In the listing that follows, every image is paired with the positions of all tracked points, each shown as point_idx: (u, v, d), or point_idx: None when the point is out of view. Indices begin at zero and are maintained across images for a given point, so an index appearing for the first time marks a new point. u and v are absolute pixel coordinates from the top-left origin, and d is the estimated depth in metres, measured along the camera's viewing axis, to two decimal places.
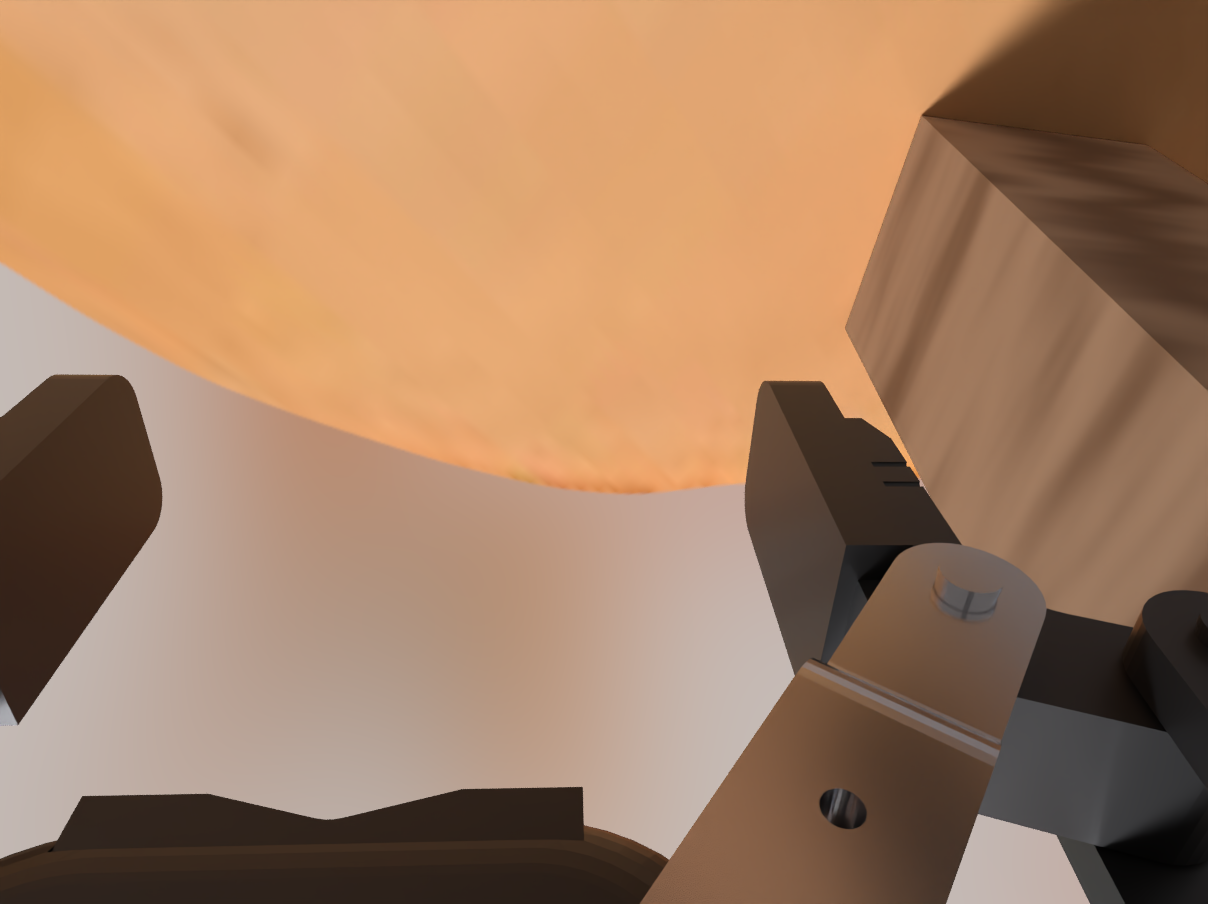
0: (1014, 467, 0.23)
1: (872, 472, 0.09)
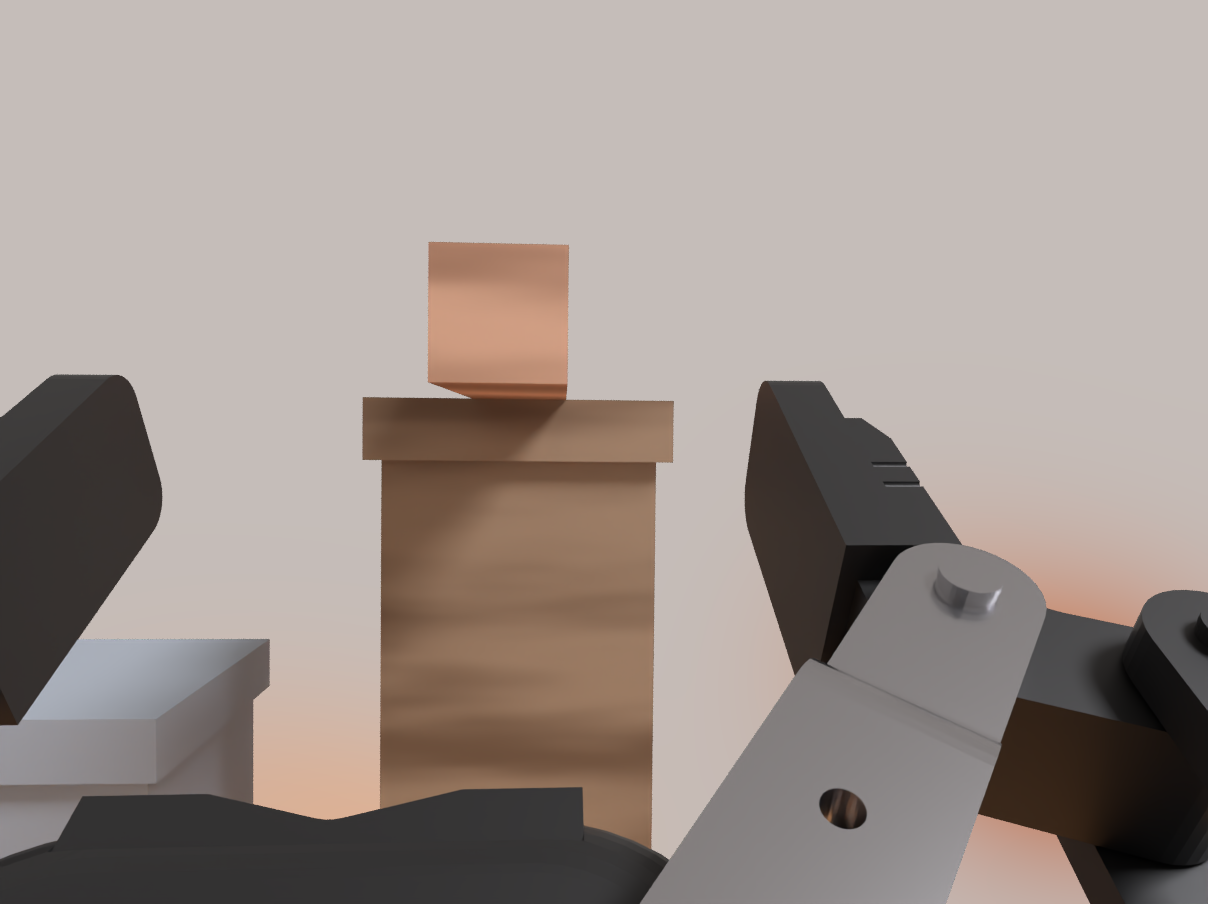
0: None
1: (872, 472, 0.09)
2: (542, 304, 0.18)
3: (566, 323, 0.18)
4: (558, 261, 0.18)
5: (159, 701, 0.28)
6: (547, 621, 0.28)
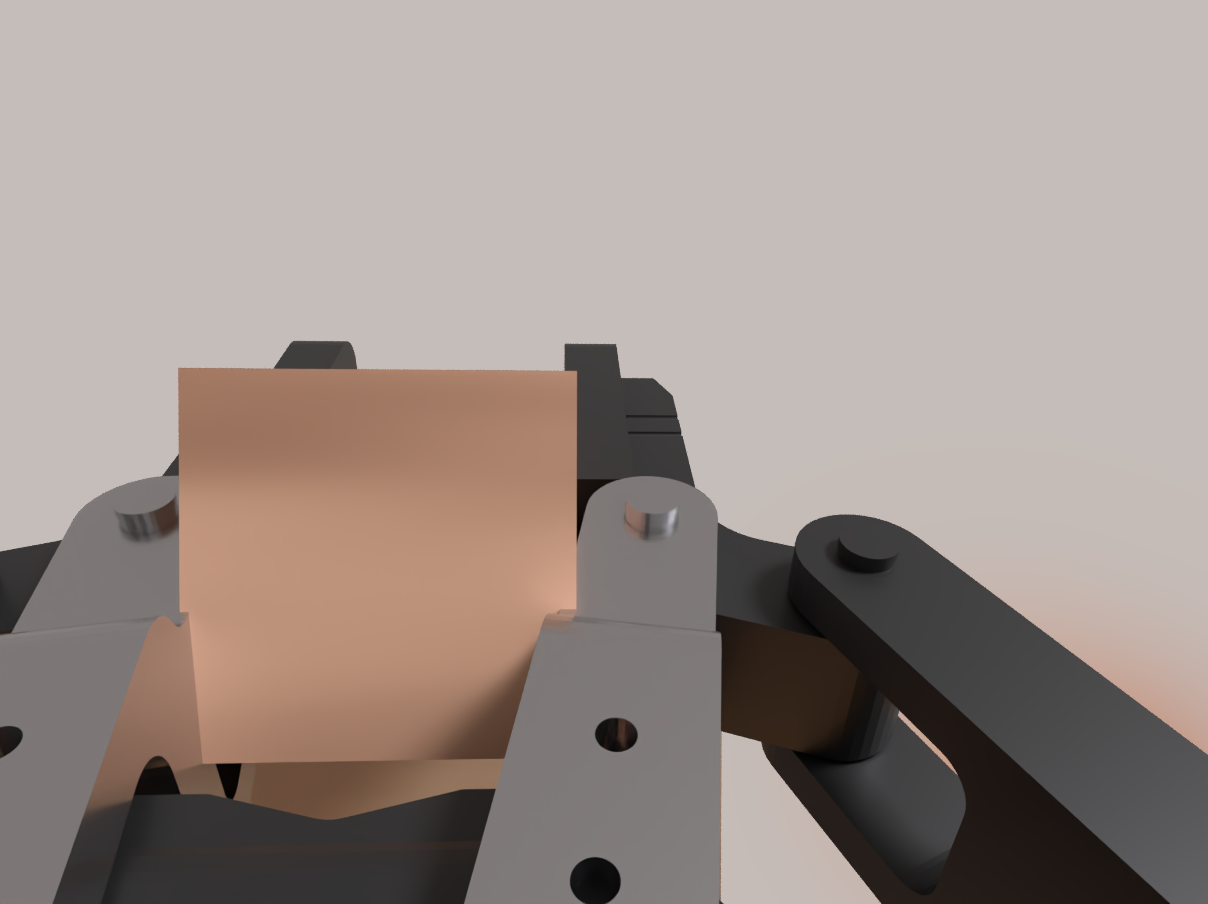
0: None
1: (623, 420, 0.09)
2: (506, 538, 0.06)
3: (572, 591, 0.06)
4: (549, 417, 0.07)
5: None
6: None
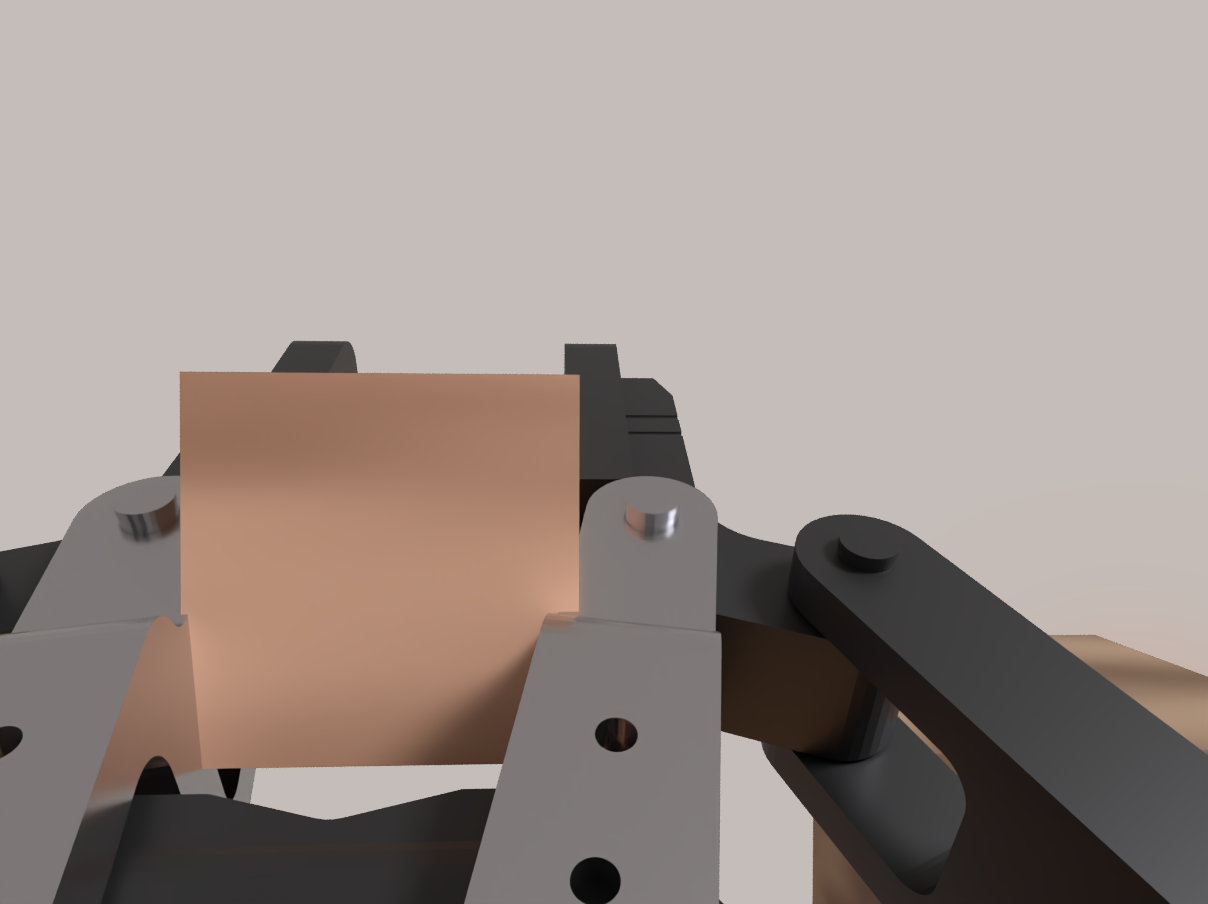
0: None
1: (623, 420, 0.09)
2: (509, 544, 0.06)
3: (575, 595, 0.06)
4: (551, 421, 0.06)
5: None
6: None
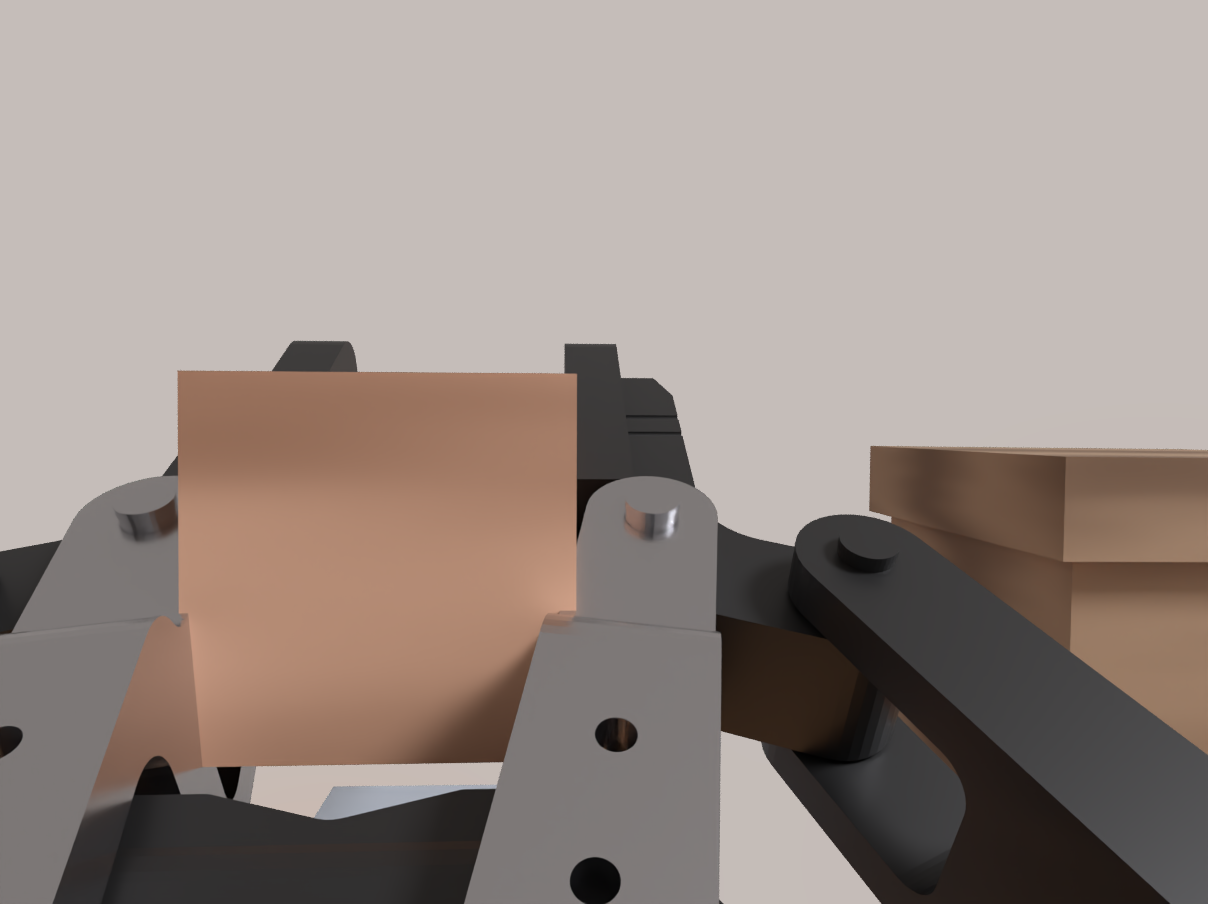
0: None
1: (623, 420, 0.09)
2: (505, 543, 0.06)
3: (572, 594, 0.06)
4: (548, 420, 0.06)
5: None
6: None
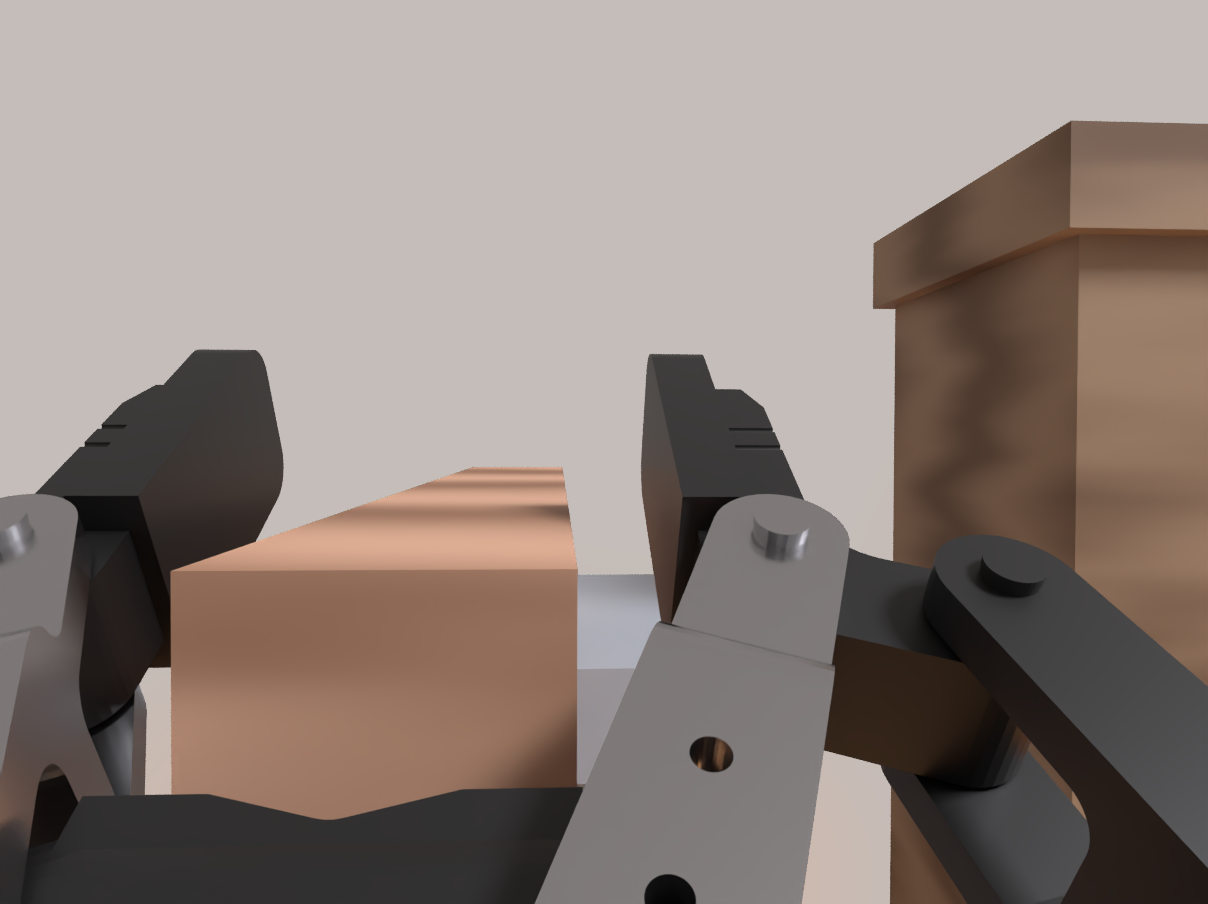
0: None
1: (726, 434, 0.09)
2: (504, 741, 0.06)
3: None
4: (549, 616, 0.06)
5: None
6: None
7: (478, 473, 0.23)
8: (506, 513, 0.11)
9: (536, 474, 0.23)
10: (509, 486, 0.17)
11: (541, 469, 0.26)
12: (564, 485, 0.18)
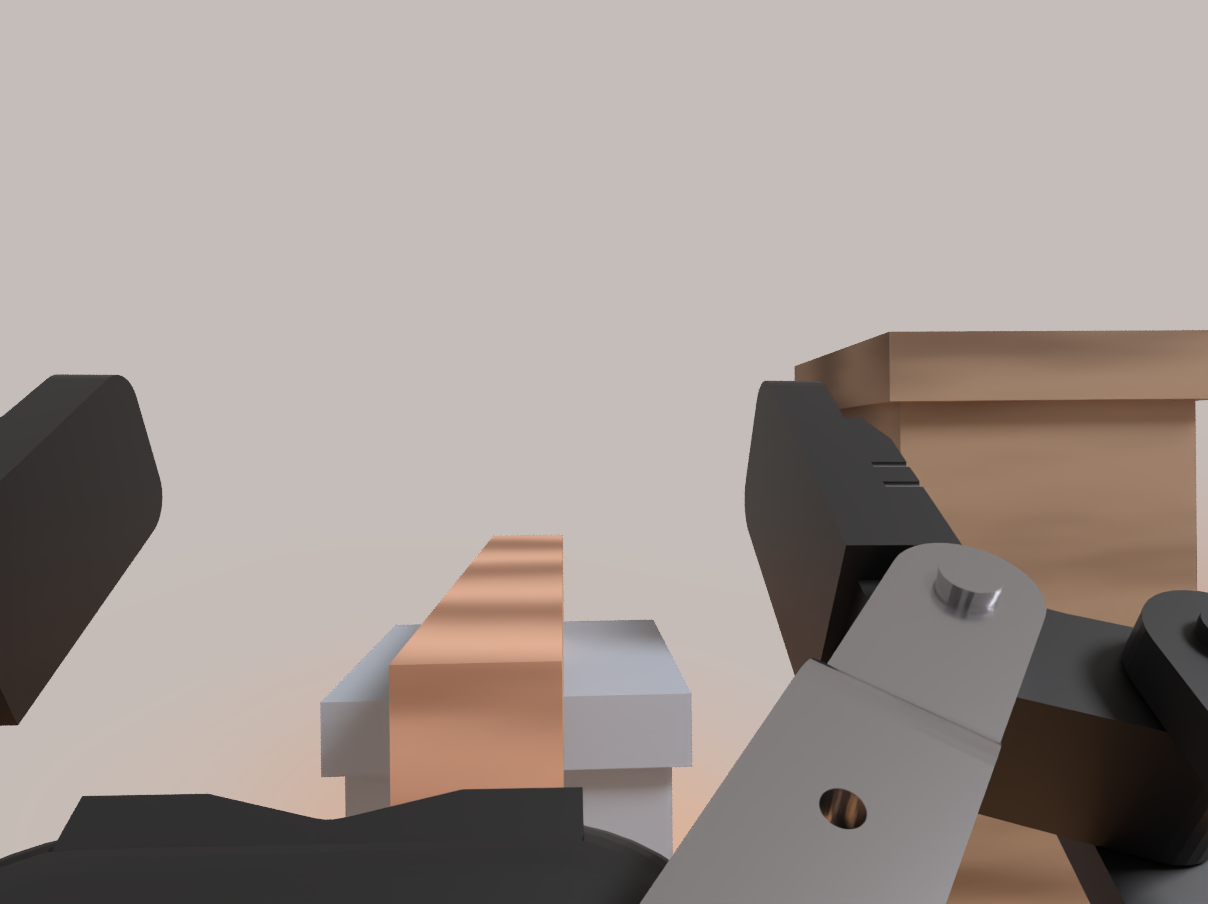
0: None
1: (872, 472, 0.09)
2: (531, 736, 0.15)
3: (561, 758, 0.15)
4: (549, 681, 0.15)
5: (659, 677, 0.25)
6: (1082, 578, 0.25)
7: (500, 548, 0.32)
8: (526, 610, 0.19)
9: (542, 550, 0.31)
10: (524, 572, 0.25)
11: (546, 539, 0.35)
12: (562, 569, 0.26)
